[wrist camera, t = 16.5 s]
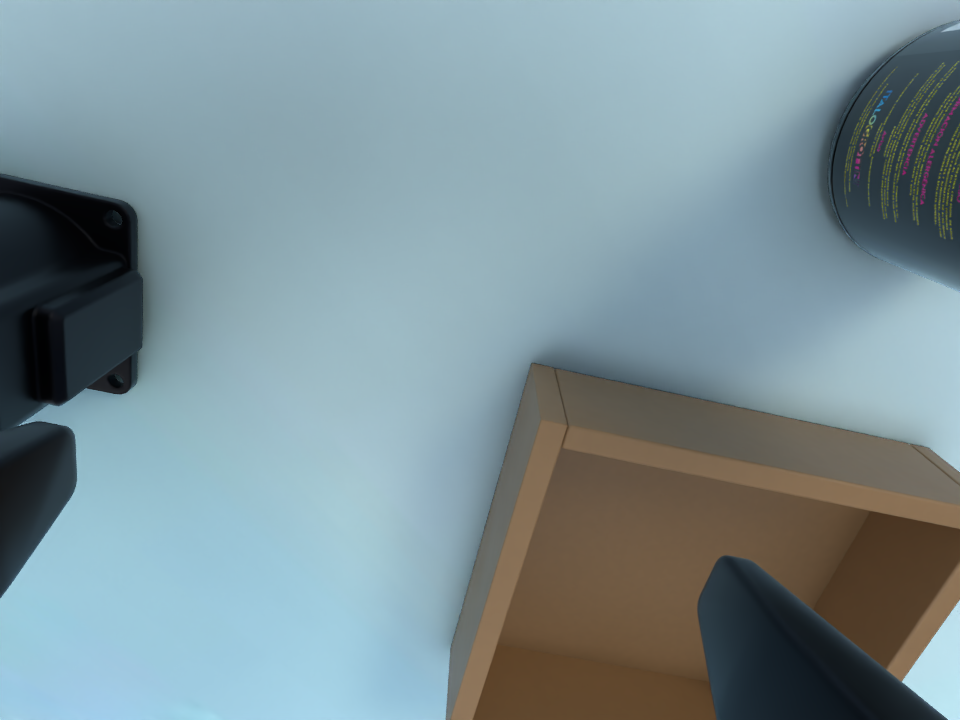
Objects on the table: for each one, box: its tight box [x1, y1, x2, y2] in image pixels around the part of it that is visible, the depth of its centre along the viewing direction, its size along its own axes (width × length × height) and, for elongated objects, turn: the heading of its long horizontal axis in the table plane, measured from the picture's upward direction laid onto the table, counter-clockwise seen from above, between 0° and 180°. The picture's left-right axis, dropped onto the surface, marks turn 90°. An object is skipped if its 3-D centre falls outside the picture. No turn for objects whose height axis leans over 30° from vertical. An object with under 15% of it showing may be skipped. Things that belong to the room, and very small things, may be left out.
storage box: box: [446, 363, 960, 720], centre depth 22 cm, size 15×14×4 cm
